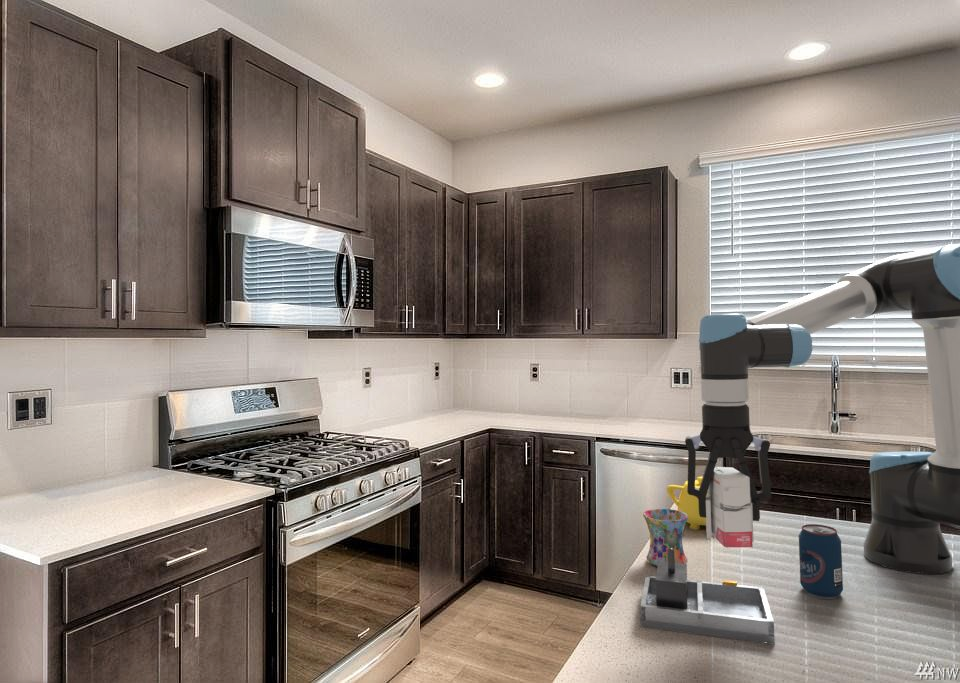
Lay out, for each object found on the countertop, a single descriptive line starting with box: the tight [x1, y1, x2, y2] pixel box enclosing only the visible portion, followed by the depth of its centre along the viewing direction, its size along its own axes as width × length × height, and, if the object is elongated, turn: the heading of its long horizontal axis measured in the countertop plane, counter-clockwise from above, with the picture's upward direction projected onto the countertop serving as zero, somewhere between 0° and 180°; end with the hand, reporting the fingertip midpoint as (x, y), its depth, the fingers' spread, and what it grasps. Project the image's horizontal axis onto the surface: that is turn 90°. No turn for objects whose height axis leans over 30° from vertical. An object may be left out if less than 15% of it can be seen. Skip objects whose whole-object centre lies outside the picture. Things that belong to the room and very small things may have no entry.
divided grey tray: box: [640, 548, 776, 645], centre depth 101 cm, size 20×14×11 cm
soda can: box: [798, 523, 844, 600], centre depth 109 cm, size 7×7×12 cm
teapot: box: [666, 476, 708, 530], centre depth 151 cm, size 13×20×12 cm
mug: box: [642, 508, 688, 567], centre depth 127 cm, size 12×9×11 cm
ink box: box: [707, 466, 754, 549], centre depth 99 cm, size 9×5×12 cm, turn 175°
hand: (729, 537), depth 99 cm, fingers closed on ink box, 6 cm apart
